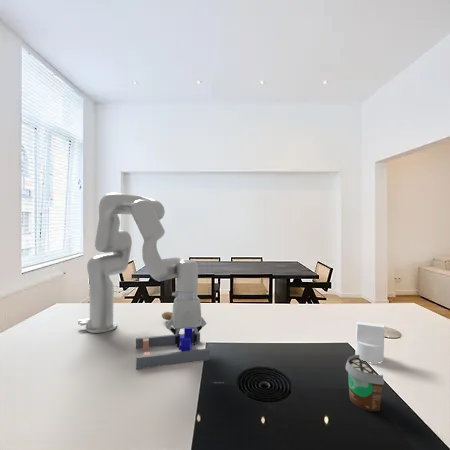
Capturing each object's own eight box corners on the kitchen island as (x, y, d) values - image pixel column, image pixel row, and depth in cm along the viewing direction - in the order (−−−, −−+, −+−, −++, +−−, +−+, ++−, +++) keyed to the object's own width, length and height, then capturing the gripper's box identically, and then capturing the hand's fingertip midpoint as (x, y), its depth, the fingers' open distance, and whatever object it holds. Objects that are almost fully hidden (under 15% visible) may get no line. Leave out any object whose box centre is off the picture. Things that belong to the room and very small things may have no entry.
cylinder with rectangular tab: (381, 354, 109) (382, 321, 109) (385, 366, 101) (386, 330, 100) (354, 350, 112) (355, 318, 112) (356, 361, 104) (357, 326, 103)
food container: (336, 388, 87) (337, 354, 86) (357, 387, 87) (358, 353, 87) (359, 416, 74) (360, 377, 74) (383, 415, 75) (384, 376, 75)
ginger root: (208, 316, 144) (205, 300, 142) (187, 334, 131) (184, 317, 130) (183, 311, 153) (180, 296, 151) (161, 327, 140) (158, 312, 138)
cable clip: (180, 342, 114) (180, 327, 114) (192, 342, 114) (192, 327, 114) (176, 357, 102) (176, 340, 102) (189, 357, 103) (190, 340, 102)
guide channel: (136, 369, 95) (136, 358, 95) (135, 347, 111) (135, 338, 111) (209, 359, 102) (209, 349, 102) (199, 340, 118) (199, 332, 118)
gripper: (163, 299, 102) (162, 352, 102) (212, 296, 107) (211, 346, 107) (161, 293, 109) (160, 343, 110) (207, 291, 114) (206, 338, 115)
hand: (185, 344), depth 108 cm, fingers closed on cable clip, 5 cm apart
